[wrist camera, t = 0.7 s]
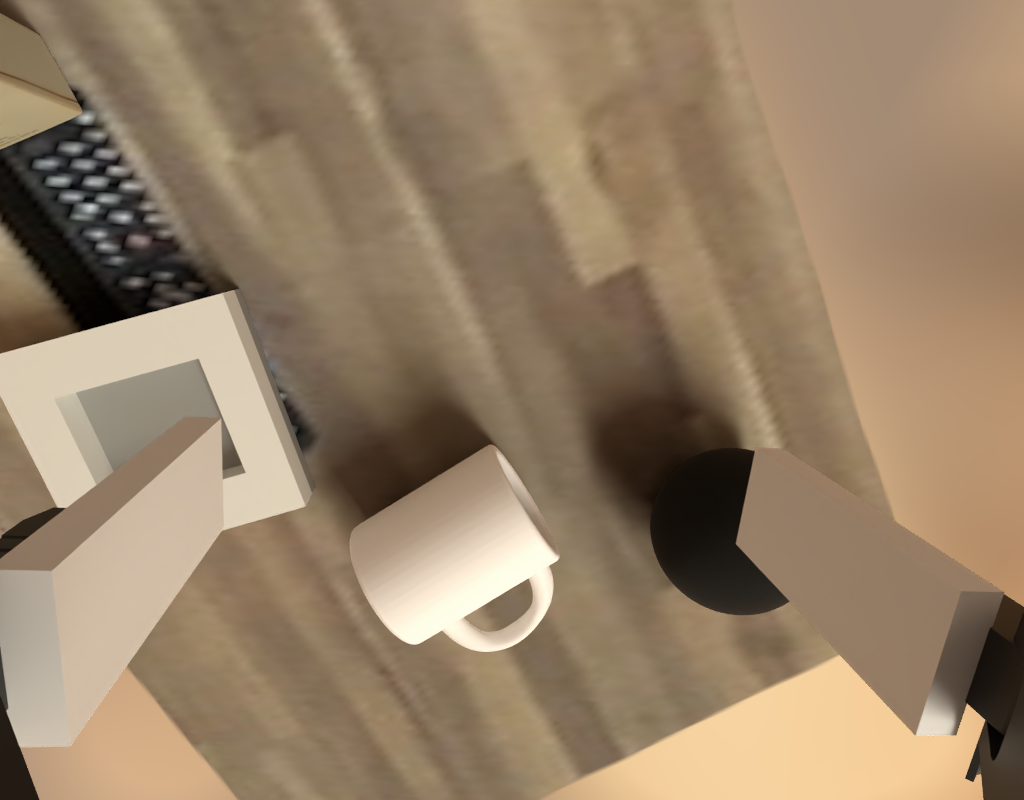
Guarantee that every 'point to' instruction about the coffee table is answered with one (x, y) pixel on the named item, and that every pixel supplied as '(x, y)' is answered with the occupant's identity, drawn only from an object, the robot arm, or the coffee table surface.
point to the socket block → (158, 403)
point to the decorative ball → (710, 534)
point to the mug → (456, 554)
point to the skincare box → (30, 85)
